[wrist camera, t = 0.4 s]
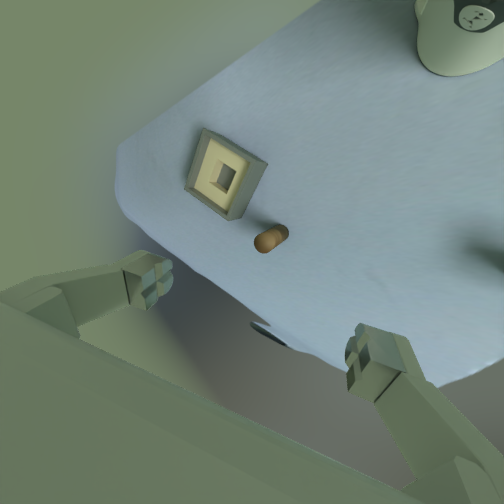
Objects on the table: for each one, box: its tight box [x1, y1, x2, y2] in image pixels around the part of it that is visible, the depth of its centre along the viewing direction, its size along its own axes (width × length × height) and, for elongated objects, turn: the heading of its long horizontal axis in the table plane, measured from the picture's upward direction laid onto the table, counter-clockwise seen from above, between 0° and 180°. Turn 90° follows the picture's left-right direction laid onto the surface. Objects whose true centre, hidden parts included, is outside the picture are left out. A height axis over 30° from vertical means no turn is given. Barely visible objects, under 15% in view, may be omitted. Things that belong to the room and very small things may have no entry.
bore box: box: [184, 128, 268, 221], centre depth 54 cm, size 16×16×7 cm
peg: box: [254, 225, 289, 253], centre depth 50 cm, size 4×4×12 cm
